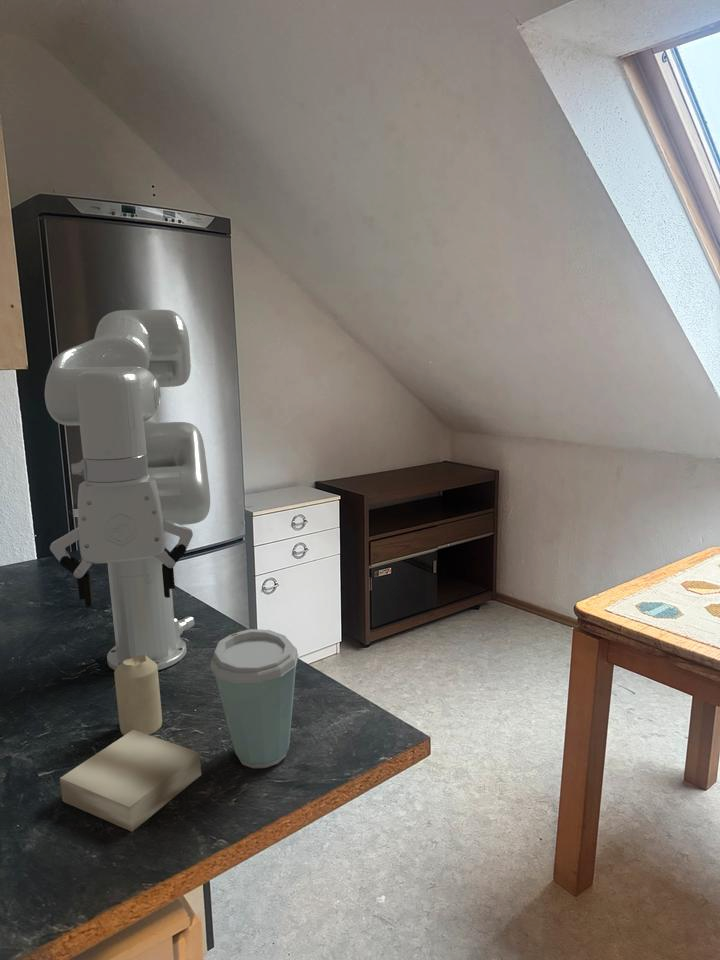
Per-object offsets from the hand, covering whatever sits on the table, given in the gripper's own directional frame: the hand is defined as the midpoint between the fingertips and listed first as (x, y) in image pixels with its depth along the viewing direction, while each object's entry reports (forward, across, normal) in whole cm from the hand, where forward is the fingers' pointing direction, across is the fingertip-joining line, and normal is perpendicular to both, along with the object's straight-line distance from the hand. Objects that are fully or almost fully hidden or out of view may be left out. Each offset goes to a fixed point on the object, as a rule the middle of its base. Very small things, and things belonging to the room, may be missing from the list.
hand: (129, 599), depth 90 cm
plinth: (+19, -1, -13) cm, 23 cm away
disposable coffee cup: (+19, +14, -11) cm, 26 cm away
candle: (+19, 0, 0) cm, 19 cm away
